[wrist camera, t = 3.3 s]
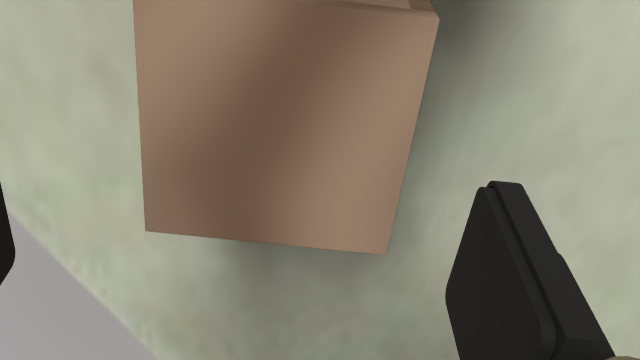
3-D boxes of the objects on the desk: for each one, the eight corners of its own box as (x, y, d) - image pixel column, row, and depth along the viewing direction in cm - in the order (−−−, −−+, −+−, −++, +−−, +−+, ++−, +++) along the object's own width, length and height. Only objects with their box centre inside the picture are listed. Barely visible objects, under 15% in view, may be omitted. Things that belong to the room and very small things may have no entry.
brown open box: (406, -43, 20) (439, 19, 14) (372, 144, 23) (385, 254, 18) (192, -69, 19) (132, -18, 13) (192, 124, 23) (145, 231, 17)
